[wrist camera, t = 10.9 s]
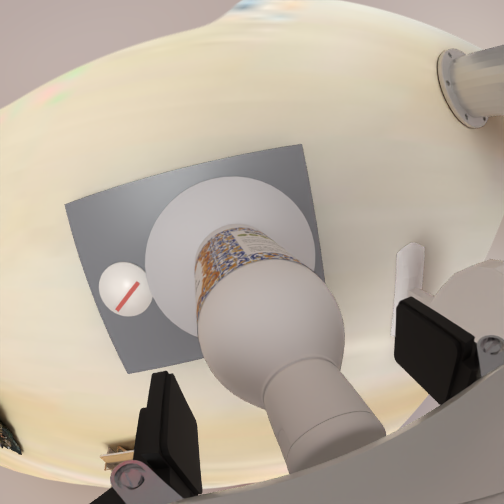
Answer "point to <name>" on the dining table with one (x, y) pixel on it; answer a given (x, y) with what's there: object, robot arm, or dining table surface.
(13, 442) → the decorative rock
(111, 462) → the architectural model
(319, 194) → the dining table surface
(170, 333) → the dial scale
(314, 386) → the bath foam
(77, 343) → the dining table surface
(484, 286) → the heart sculpture
